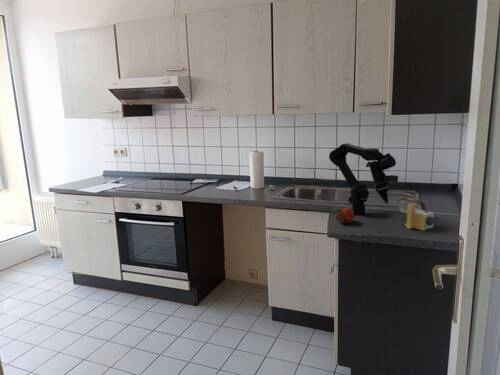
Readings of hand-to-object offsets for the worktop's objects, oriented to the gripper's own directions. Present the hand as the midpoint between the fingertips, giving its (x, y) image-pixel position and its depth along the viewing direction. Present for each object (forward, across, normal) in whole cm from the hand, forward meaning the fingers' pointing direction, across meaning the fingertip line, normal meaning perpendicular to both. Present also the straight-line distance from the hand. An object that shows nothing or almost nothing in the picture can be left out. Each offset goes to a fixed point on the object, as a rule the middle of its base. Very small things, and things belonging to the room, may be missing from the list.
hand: (387, 203), depth 189 cm
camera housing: (+14, -2, -10) cm, 18 cm away
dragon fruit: (+4, -2, +22) cm, 22 cm away
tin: (+8, +17, -10) cm, 22 cm away
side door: (+15, -8, -8) cm, 19 cm away
